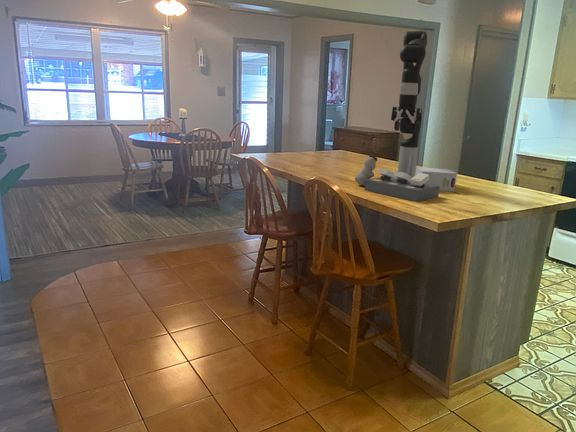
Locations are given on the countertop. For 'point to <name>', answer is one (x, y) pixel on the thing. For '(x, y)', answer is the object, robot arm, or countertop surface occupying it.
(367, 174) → the figurine
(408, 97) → the robot arm
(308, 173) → the countertop surface
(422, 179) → the switch
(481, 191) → the countertop surface
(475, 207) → the countertop surface
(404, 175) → the switch
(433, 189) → the grey tray
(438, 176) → the supplement box
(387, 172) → the switch
